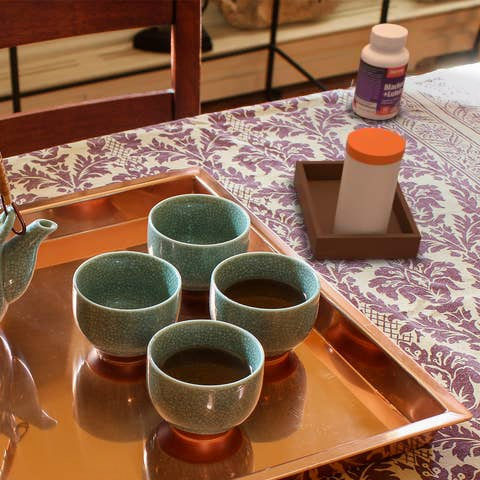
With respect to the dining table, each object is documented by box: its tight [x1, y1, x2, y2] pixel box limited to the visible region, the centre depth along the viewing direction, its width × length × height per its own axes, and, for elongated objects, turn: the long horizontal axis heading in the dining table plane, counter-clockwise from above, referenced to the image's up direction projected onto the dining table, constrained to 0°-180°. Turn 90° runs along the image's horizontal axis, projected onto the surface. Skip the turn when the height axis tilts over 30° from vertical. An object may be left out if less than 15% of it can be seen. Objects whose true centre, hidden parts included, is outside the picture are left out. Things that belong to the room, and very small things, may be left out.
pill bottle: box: [352, 23, 410, 121], centre depth 108 cm, size 5×5×10 cm
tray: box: [293, 160, 422, 261], centre depth 93 cm, size 14×10×2 cm
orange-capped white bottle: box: [333, 127, 407, 234], centre depth 88 cm, size 5×5×10 cm
